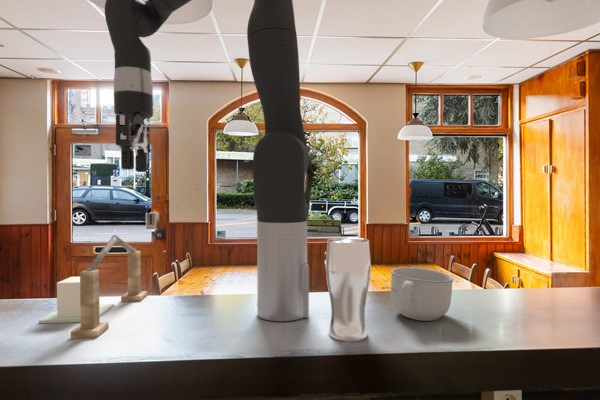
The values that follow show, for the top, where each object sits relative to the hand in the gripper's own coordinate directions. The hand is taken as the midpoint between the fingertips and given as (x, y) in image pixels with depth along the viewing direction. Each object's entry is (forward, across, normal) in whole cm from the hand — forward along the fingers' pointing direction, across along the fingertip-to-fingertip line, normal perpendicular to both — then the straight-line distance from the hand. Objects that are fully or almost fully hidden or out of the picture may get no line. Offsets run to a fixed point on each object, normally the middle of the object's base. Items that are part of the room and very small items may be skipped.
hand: (135, 170), depth 80 cm
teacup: (+28, -18, -54) cm, 63 cm away
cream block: (+27, -10, +7) cm, 29 cm away
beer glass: (+28, -25, -40) cm, 55 cm away
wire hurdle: (+27, -10, +1) cm, 29 cm away
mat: (+27, -10, +7) cm, 30 cm away
